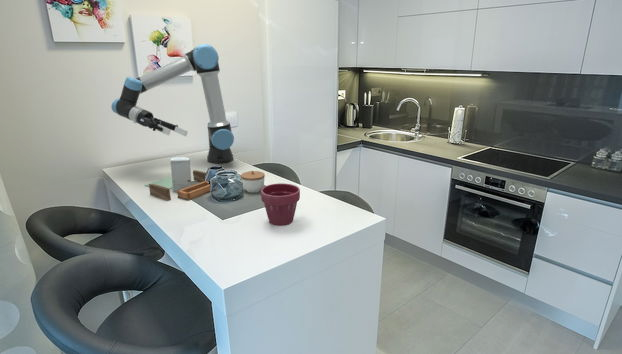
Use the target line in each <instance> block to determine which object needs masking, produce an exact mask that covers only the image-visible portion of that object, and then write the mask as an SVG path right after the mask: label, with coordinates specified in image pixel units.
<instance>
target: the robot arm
mask: <svg viewBox="0 0 622 354" xmlns="http://www.w3.org/2000/svg"><path fill="white" fill-rule="evenodd" d="M191 71H192V72H195V71H196V74H197V75H198V76H199V77H200V80H201V84H202V90H203V93H204V95H203V96H204V99H205V103H206V107H207V108H206V109H207V113H208V117H209V122H208V123H207V134H208V146H209V147H208V148H209V149H208V152H207V156H206V159H207V162H209V163H210V164H211V163H212V164H224V163H226V164H227V163H229V162H232V161H234V154H233V152H232V150H231V147H232V146H233V144H234V142H235V137H234V134H233V131H232V126H231V122H230V121H229V120H228V119H227V116H226V110H225V106H224V100H223V96H222V91H221V86H220V85H221V84H220V80H219V76H218V75H219V73H220V72H221V70H220V64H219V54H218V51H217V50H216V48H215V47H213V46H212V45H210V44H208V43H201V44H199V45H197V46H196V47H194V48H193V49H191V50H190V51H188V52H187V53H184V54H183V57H180V58H178V59H175V60H173V61H171V62H169V63H166V64H165V65H163V66H160V67H158V68H156V69H154V70H151V71H150V72H149V71H148V72H147V73H145V74H142V75H141V76H138V77H135V78H134V77H132V76H126V78H125V80H124V83H123V88H122V90H121V95H120V97H119V98H116V99H114V100H113V102H111V110H112V112H113V113H115V114H117V115H118V116H120V117H123V118H124V119H125V118H126V119H127V120H130V121H132V122H133V124H139V125H140V126H142V127H146V128H147V127H148V129H151V130H152V131H153V132H155V131H157V132H160V133H162V134H164V135H167V136H170V134H171V131H173V132H175V133H177V134H179V135H181V136H183V137H187V135H188V130H185V129H183V128H181V127H179V125H178V124H173V123H170V122H168V121H166V120H162V119H160V118H157V117H154V114H153V113H152V112H151V111H149V110H146V109H145V108H142V107H140V106H138V105H137V103H138V100H139V96H140V95H141V94H143V93H146V92H147V91H149V90H152V89H153V88H156V87H158V86H160V85H163V84H164V83H165V84H166V83H167V82H169V81H171V80H173V79H175V78H178V77H179V76H182V75H184V74H187V73H188V72H191Z"/></svg>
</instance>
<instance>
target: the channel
mask: <svg viewBox="0 0 622 354" xmlns="http://www.w3.org/2000/svg"><path fill="white" fill-rule="evenodd" d="M206 173H207V172H205V171H201V170H198V169H193V170H192V175H193V178H192V179H193V181H195V182H198V183H201V182H204V181H205V175H206ZM150 183H151V184H149V183H148V184H149V187H148V188H149V195H150V196H153V197H154V198H158V199H162V200H164V201H170V200H171V199H172V198H171V189H169V188H166V187H162V186H159V185H156V184H153V183H152V182H150Z"/></svg>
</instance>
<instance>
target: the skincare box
mask: <svg viewBox="0 0 622 354" xmlns="http://www.w3.org/2000/svg"><path fill="white" fill-rule="evenodd" d="M170 170H171V171H170V172H171V178H172V185H173V188H172V191H173V193H175V192H177V191H179V190H181V189H184V188H187V187H190V186H193V185H192V171H191V158H190V157H189V156H185V157H183V156H179V157H171V158H170Z"/></svg>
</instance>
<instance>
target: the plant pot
mask: <svg viewBox="0 0 622 354" xmlns="http://www.w3.org/2000/svg"><path fill="white" fill-rule="evenodd" d="M260 191H261V192H260V197H261V198H260V199H261V201H262V203H263V204H264V208H265V212H266V216H267V218H268V219H267V220H268V223H269V224H271V225H272V226H275V227H276V226H277V227H284V226H288V225H291V224H292V223H293V222H294V217H295V214H296V209H297V206H298V205H297V204H298V202H299V200H300V199H301V198H300V197H301V188H300V187H299V186H297V185H296V184H291V183H271V184H267V185H265V186H263V187H262V188H261V189H260Z"/></svg>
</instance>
